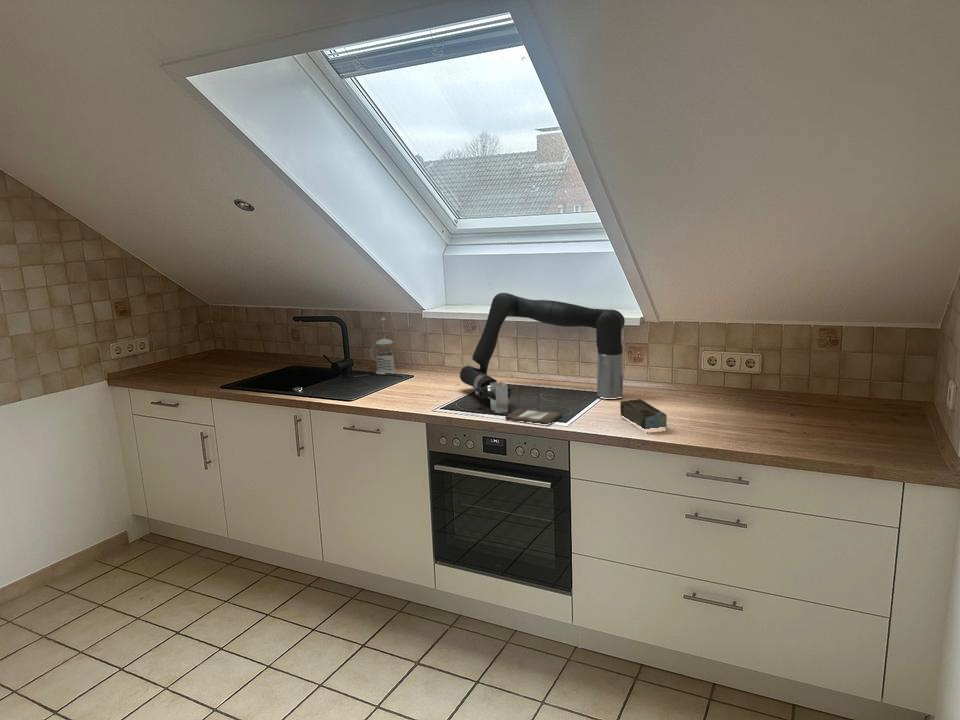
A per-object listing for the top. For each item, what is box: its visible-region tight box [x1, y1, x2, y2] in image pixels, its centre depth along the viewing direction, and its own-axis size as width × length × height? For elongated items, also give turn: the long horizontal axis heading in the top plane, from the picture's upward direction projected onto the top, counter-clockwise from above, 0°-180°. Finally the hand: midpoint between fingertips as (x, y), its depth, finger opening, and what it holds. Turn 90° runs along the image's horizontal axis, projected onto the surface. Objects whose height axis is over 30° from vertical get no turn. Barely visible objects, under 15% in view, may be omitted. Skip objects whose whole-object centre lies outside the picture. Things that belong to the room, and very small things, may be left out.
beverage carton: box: [619, 398, 668, 429], centre depth 228 cm, size 8×19×7 cm, turn 13°
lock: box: [489, 381, 509, 414], centre depth 247 cm, size 4×6×11 cm
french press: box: [369, 317, 397, 375], centre depth 312 cm, size 10×12×25 cm
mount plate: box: [504, 407, 563, 424], centre depth 238 cm, size 16×12×1 cm
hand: (501, 396), depth 245 cm, fingers closed on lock, 4 cm apart
